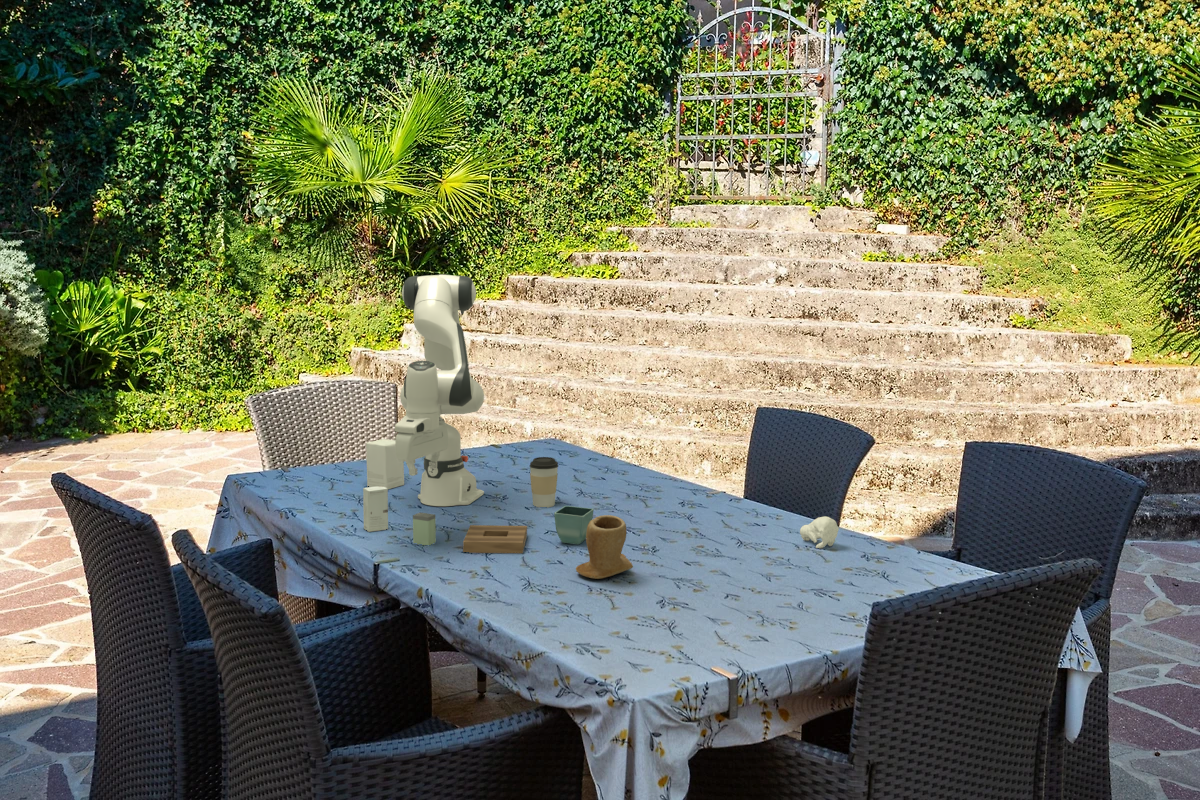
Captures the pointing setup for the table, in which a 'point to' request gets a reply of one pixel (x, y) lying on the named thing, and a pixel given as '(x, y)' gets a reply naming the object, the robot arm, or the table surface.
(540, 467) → the coffee cup
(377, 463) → the supplement box
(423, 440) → the robot arm
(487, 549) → the walnut slot block
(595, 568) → the stone cup
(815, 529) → the cream animal figurine
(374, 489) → the skincare box
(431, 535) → the keyed peg
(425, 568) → the table surface
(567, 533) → the flower pot
